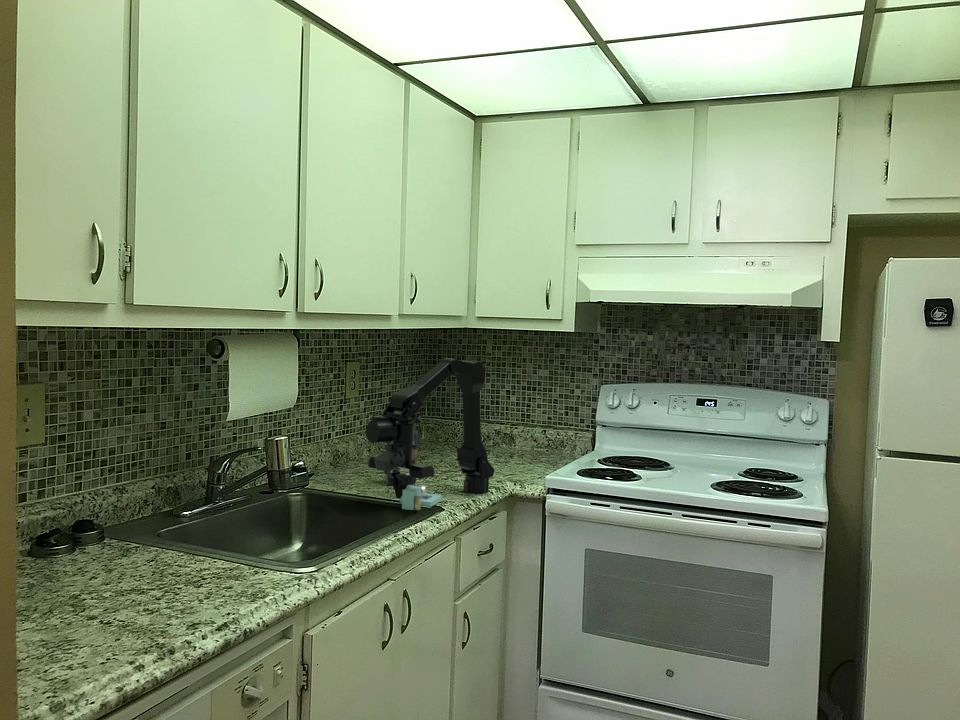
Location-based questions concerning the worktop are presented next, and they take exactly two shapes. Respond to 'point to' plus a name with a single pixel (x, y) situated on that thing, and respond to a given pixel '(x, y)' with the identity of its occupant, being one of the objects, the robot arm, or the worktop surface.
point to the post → (423, 491)
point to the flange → (413, 491)
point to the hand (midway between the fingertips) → (398, 498)
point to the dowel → (417, 503)
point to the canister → (414, 456)
